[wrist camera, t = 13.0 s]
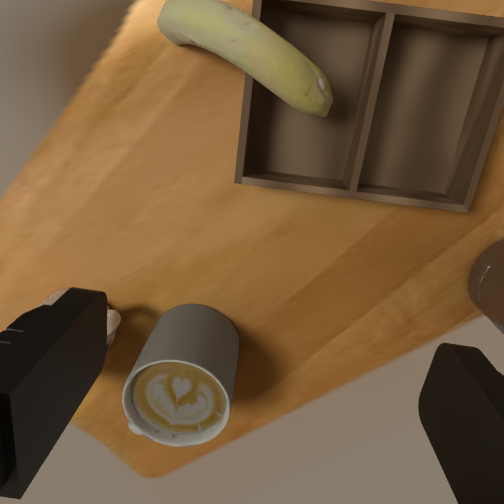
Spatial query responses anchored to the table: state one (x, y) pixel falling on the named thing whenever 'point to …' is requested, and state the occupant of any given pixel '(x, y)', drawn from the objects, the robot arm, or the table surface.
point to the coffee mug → (183, 377)
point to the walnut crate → (379, 104)
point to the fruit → (249, 50)
